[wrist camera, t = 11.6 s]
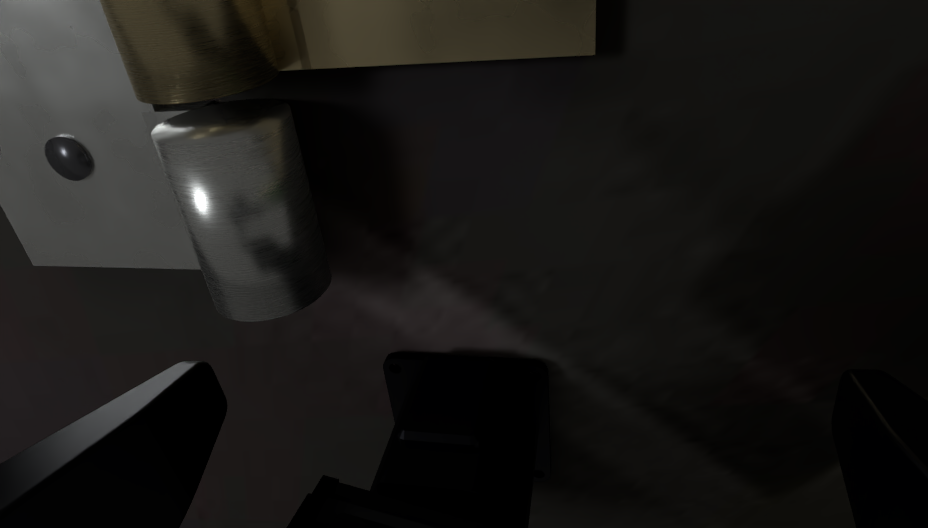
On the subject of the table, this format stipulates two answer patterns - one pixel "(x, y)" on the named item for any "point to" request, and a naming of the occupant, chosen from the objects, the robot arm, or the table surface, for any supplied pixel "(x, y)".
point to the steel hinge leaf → (149, 170)
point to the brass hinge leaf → (327, 38)
